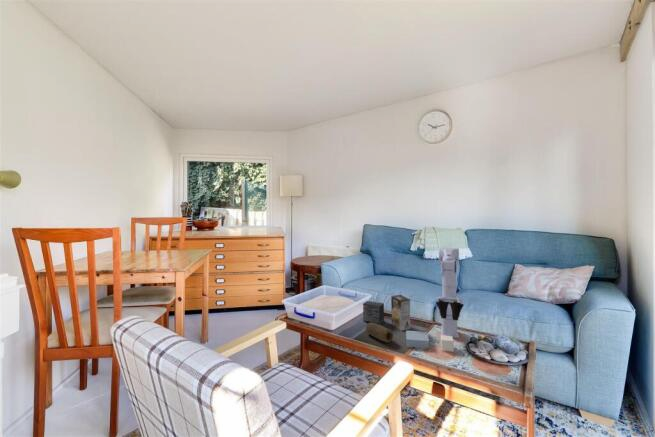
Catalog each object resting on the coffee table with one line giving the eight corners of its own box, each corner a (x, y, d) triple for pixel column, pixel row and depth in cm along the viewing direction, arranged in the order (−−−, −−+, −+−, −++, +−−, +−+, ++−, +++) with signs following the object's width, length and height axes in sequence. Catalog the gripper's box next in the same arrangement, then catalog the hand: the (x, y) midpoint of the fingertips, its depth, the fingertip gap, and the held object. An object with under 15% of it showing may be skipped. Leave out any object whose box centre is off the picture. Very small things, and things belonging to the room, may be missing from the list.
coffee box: (391, 324, 168) (390, 295, 167) (400, 322, 170) (400, 294, 169) (400, 331, 159) (400, 300, 159) (411, 328, 162) (410, 299, 161)
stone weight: (395, 341, 148) (395, 327, 148) (385, 345, 144) (385, 331, 144) (373, 331, 160) (373, 318, 160) (363, 335, 156) (363, 322, 156)
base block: (406, 338, 152) (406, 330, 151) (427, 340, 149) (427, 332, 149) (406, 347, 142) (406, 339, 142) (429, 349, 139) (428, 341, 139)
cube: (440, 345, 142) (440, 335, 142) (452, 346, 141) (452, 336, 141) (441, 350, 137) (441, 339, 137) (453, 351, 136) (453, 340, 136)
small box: (384, 321, 173) (384, 302, 173) (380, 325, 168) (380, 306, 167) (367, 317, 179) (367, 300, 179) (363, 321, 174) (362, 303, 173)
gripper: (431, 286, 141) (431, 316, 138) (452, 286, 128) (453, 320, 124) (444, 287, 143) (444, 317, 140) (466, 288, 130) (467, 321, 126)
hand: (449, 319), depth 132 cm, fingers open, 7 cm apart
